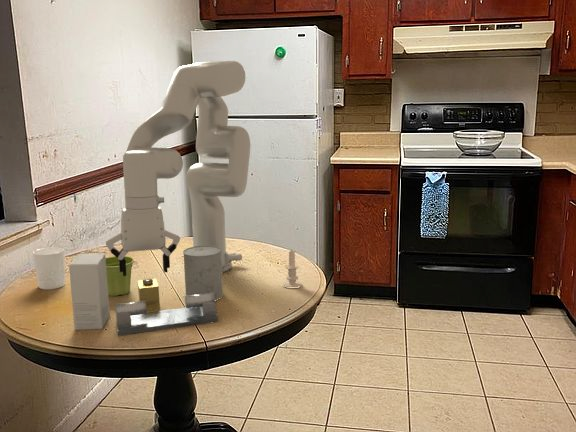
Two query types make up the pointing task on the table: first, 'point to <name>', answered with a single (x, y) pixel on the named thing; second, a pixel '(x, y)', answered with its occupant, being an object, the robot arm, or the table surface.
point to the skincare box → (89, 291)
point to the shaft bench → (165, 315)
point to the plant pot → (118, 276)
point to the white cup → (49, 267)
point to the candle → (292, 271)
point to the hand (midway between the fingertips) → (145, 272)
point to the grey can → (203, 270)
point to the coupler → (149, 293)
